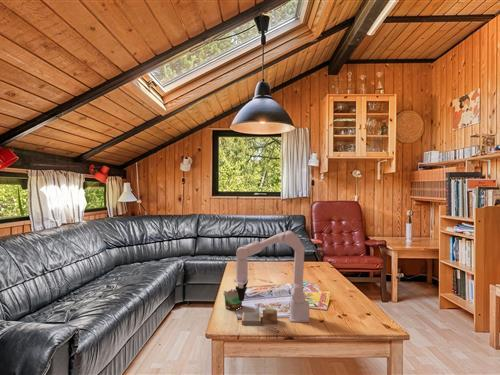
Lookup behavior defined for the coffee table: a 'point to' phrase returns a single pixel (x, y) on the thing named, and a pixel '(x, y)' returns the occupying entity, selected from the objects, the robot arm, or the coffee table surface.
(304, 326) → the coffee table surface
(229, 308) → the food container
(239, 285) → the robot arm
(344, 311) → the coffee table surface
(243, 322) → the dock
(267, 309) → the block
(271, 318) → the brown block
